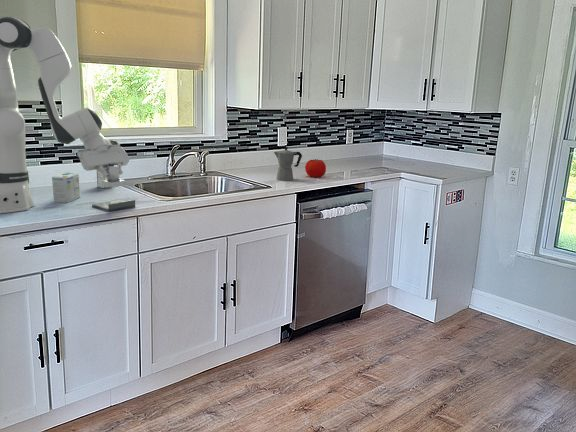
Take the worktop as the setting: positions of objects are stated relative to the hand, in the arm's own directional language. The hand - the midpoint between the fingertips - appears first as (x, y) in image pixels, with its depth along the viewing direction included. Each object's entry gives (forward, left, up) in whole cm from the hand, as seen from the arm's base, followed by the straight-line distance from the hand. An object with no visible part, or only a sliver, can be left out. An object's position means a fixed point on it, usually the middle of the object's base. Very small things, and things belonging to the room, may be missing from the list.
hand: (114, 174), depth 214 cm
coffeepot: (+103, -11, -14) cm, 104 cm away
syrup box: (+21, +36, -14) cm, 44 cm away
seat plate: (0, +1, -13) cm, 13 cm away
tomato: (+122, -17, -14) cm, 124 cm away
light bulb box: (-6, +25, -14) cm, 29 cm away
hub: (0, +1, -4) cm, 4 cm away
